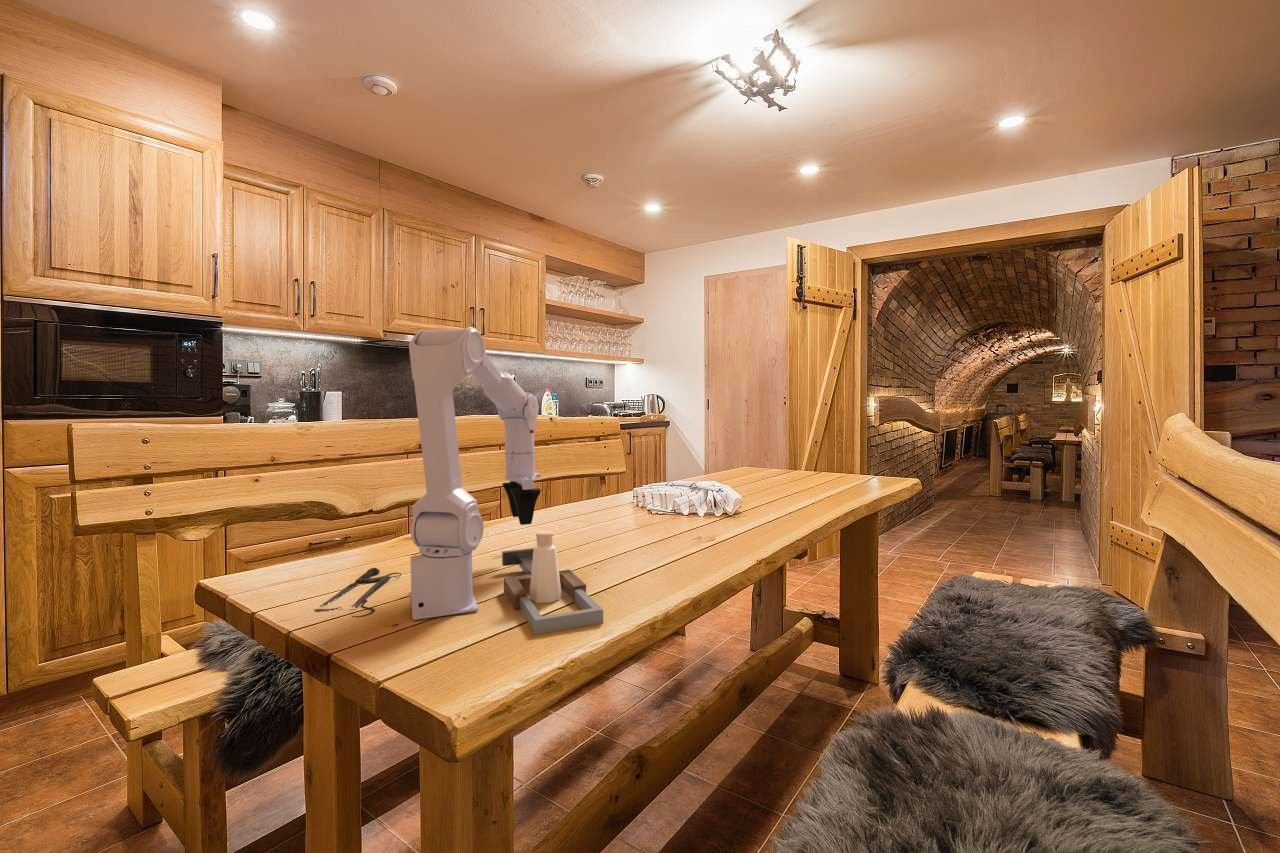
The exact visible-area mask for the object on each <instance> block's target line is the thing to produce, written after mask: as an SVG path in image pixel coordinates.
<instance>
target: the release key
mask: <svg viewBox="0 0 1280 853" xmlns="http://www.w3.org/2000/svg"><path fill="white" fill-rule="evenodd" d="M534 548H535V547H531V548H523V549H512V550H505V551H501V562H502V563H501V565H502V566H503V567H507V566H514V565H515V566H516V565H519V568H521V570H522V572H523V573H524V575H531V572H532V560H533V550H534Z"/></svg>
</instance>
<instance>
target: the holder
mask: <svg viewBox="0 0 1280 853" xmlns="http://www.w3.org/2000/svg"><path fill="white" fill-rule="evenodd" d="M559 576H560V584H561V590H563V591H564V592H565V594H566V595H567V596H568V597H569V598H571V600H572V601H574V602H573V603H575V590H577V589H582V590H583V591H584V592H586V593H587V584H586V583H585V582H583V581H582V580H581V578H579V577H578V576H577V575H576V574H575V573H574V572H573V571H572V570H570V569H564V570H563V569H562V570H559ZM530 584H531V575H526V574H523V575H516V576H508V577H507V576H506V577H503V593H504V595H505V597H506V599H507V600H508V601H509V603H510V605H511V607H512V608H513V610H514V611H520V598H521V597H528V594H530Z"/></svg>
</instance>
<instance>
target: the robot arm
mask: <svg viewBox="0 0 1280 853" xmlns="http://www.w3.org/2000/svg"><path fill="white" fill-rule="evenodd" d="M408 349H409V351H408V352H409V359H410V368H411V376H412V381H413V382H414V383H413V384H414V385H413V386H414V392H415V393H414V394H415V400H416V411H417V418H418V419H417V420H418V428H419V429H418V430H419V436H420V438H419V439H420V445H421V453H422V454H421V455H422V463H423V464H422V465H423V472H424V479H425V480H424V481H425V490H426V492H425V494H423V496H421V497H420V498H419V499H418V500H417V501H416V502H415V503H414V504H413V506H412V508H411V509H412V520H411V525H410V535H411V536H410V537H411V540H412V542H413V544H414V545H415V546H416V547H418V548H419V549H418V550H419V551H418V552H419V554H416V555H411V556H410V560H409V561H410V592H409V593H408V599H409V601H408V603H409V605H411V614H412V617H411V618H412V620H414V621H417V620H423V619H424V620H425V619H431V618H437V617H442V616H443V617H445V616H450V615H451V616H452V615H458V614H464V613H470V612H471V613H473V612H477V611H478V610H479V605H478V603H477V601H476V599H475V596H474V593H473V588H474V586H473V585H474V584H473V583H474V582H473V551H475V550H476V549H477V548H478V546H479V544H480V543H481V542H482V538H483V536H484V531H485V530H484V526H485V525H484V521H483V518H482V515H481V514H480V511H479V507H478V500H477V499H476V498H474V496H473V495H471V493H469V492H467V491H466V490H465V489H464V488H463V480H462V472H461V461H460V451H459V441H458V430H457V422H456V421H457V420H456V414H455V403H454V402H455V401H454V393H453V392H454V389H455V387H456V386H457V385H458V383H459V382H462V381H464V380H465V379H466V378H468V377H469V376H470V375H472V376H473V377H474V378H475V379H476V380H478V382H480V383H481V384H482V390H483V394H484V395H485V396H486V397H487V398H488V399H489V400H490V401H491V402H492V403H494V406H495V409H496V411H497V414H498V416H499V419H500V420H501V421H503V423H504V424H503V425H504V452H505V453H504V456H505V459H504V460H505V474H504V479H505V481H507V482H502V487H503V488H504V491H505V493H506V495H507V499H508V504H509V508H510V511H511V514H512V515H511V516H512V517H513V518H518V521H519V525H520V526H525V525H532V522H533V518H534V513H535V507H536V504H537V500H538V498H539V496H540V495H541V492H542V490H541V488H540V487H538V488H537V487H536V488H534V485H535V484H534V482H535V480H536V479H537V478H541V477H542V473H541V472H536V463H535V462H536V461H535V459H536V458H535V429H536V430H537V425H538V424H537V420H538V416H539V410H540V408H539V402H538V399H537V397H536V395H534V394H533V393H532V392H525V390H524V389H523V388H522V387H521V386H520V385H519V384H518V382H517V381H516V380H515V379H514V378H513V377H512V376H511V374H510V373H509V371H504V370H503V371H502V370H498V369H497V367H496V366H495V364H494V363H493V361H492V360H491V359H490V357H489V356H488V354H487V353H486V349H487V348H486V341H485V337H483V336H482V334H481V333H480V332H479V331H478V329H476V328H475V327H473V326H472V327H471V326H469V327H466V328H449V329H448V328H447V329H420V330H418V331H417V332H416V333H415V334H414V336H413V338H412V339H411V340H410V342H409V343H408ZM508 481H509V482H508Z"/></svg>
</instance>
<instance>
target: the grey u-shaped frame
mask: <svg viewBox="0 0 1280 853" xmlns="http://www.w3.org/2000/svg"><path fill="white" fill-rule="evenodd" d="M587 593H588V592H587V591H586V592H584V591H583V590H582V589H577V590H575V602H574V603H575V604H576V605H577V606H578V608H580V610H579V609H577V610H572V611H567V612H559V613H555V614H554V613H553V614H547V615H542V614H541V613H540V612H539V610H538V609H537V607H536V606H535V605H534V603H533V601H531V600H530V599H529V596H527V597H521V598H520V610H519V611H520V612H521V614H522V616H523V617H524V618H525V621H526V622H527V624H528V625H529V627H530V628H531V630H532V632H533V633H534V635H540V634H546V633H553V632H559V631H560V632H561V631H564V630H565V631H566V630H571V629H576V628H578V629H579V628H583V627H587V626H589V627H590V626H594V625H600V624H604V609H603V608H602V607H601V606H600V605H599V604H598V603H597V601H595V600H594V599H593V598H592V597H591V596H590V595H589V594H587Z"/></svg>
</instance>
